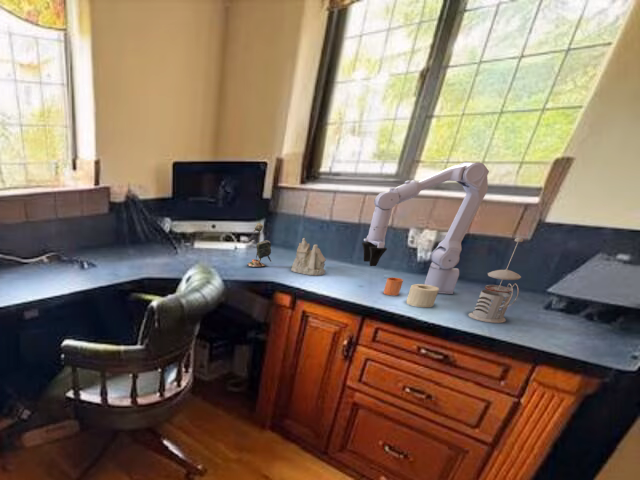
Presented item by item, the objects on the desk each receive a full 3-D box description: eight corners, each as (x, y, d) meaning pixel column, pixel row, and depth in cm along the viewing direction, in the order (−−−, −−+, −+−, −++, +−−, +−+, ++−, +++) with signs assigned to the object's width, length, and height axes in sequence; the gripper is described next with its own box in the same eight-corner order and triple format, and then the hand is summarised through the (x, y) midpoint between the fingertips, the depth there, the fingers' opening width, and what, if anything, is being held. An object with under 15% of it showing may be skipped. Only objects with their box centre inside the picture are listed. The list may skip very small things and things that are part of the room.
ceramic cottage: (315, 276, 183) (322, 240, 177) (283, 270, 195) (289, 237, 189) (335, 272, 192) (342, 238, 185) (303, 267, 204) (309, 235, 197)
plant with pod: (269, 268, 198) (275, 223, 188) (245, 267, 202) (250, 223, 192) (271, 264, 204) (277, 221, 195) (247, 263, 208) (252, 220, 199)
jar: (429, 301, 151) (435, 284, 148) (436, 308, 145) (442, 291, 142) (403, 299, 154) (408, 283, 151) (409, 306, 147) (414, 289, 144)
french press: (491, 312, 140) (524, 234, 128) (518, 324, 130) (556, 241, 118) (461, 312, 140) (490, 234, 128) (485, 325, 130) (520, 241, 118)
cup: (397, 292, 162) (401, 277, 159) (400, 296, 157) (404, 281, 155) (382, 291, 163) (386, 277, 161) (384, 295, 159) (388, 280, 156)
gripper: (361, 223, 163) (353, 259, 170) (373, 229, 151) (364, 267, 158) (381, 223, 162) (372, 259, 169) (394, 230, 150) (384, 268, 156)
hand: (369, 263), depth 163 cm, fingers open, 7 cm apart
